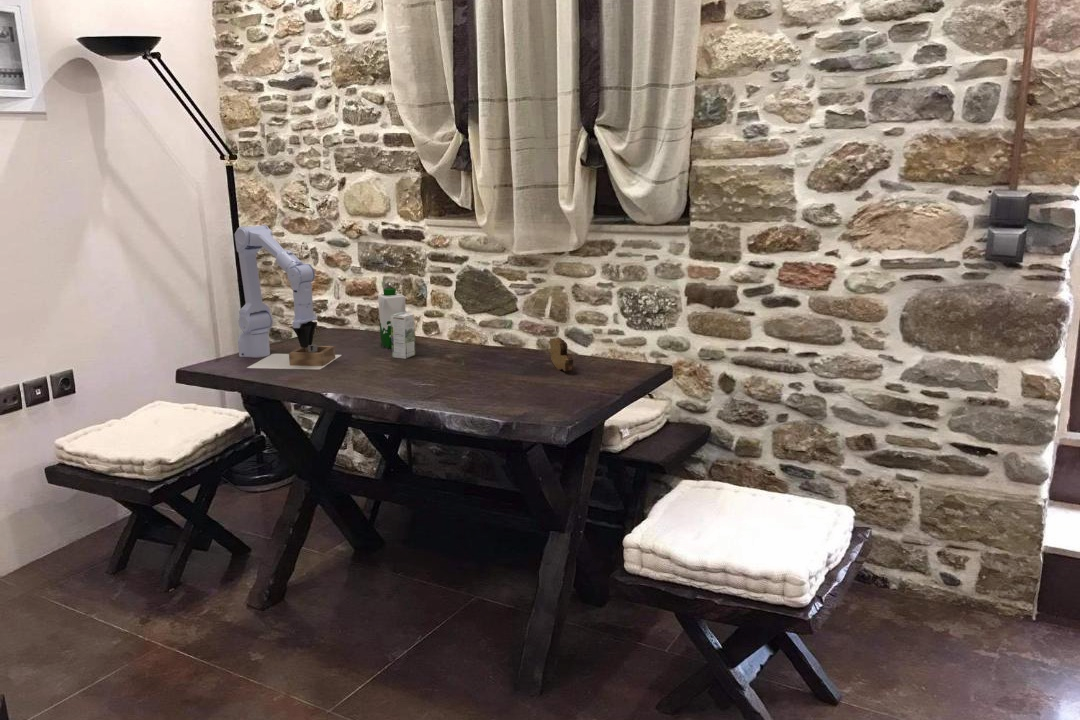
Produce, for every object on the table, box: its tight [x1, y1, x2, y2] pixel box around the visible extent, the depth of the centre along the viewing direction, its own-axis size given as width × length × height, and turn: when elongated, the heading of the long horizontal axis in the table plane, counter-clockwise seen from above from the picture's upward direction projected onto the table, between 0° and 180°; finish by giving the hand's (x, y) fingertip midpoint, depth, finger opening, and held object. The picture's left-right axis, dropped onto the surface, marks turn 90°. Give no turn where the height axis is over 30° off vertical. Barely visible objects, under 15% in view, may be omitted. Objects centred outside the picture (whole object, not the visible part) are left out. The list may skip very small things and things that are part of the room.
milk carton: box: [377, 287, 407, 350], centre depth 307 cm, size 9×9×20 cm
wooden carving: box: [548, 336, 574, 372], centre depth 273 cm, size 16×5×10 cm, turn 23°
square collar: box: [288, 345, 336, 366], centre depth 282 cm, size 11×11×4 cm
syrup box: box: [391, 312, 416, 359], centre depth 291 cm, size 6×6×14 cm
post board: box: [246, 343, 342, 370], centre depth 283 cm, size 24×20×6 cm
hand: (306, 346), depth 277 cm, fingers open, 3 cm apart
